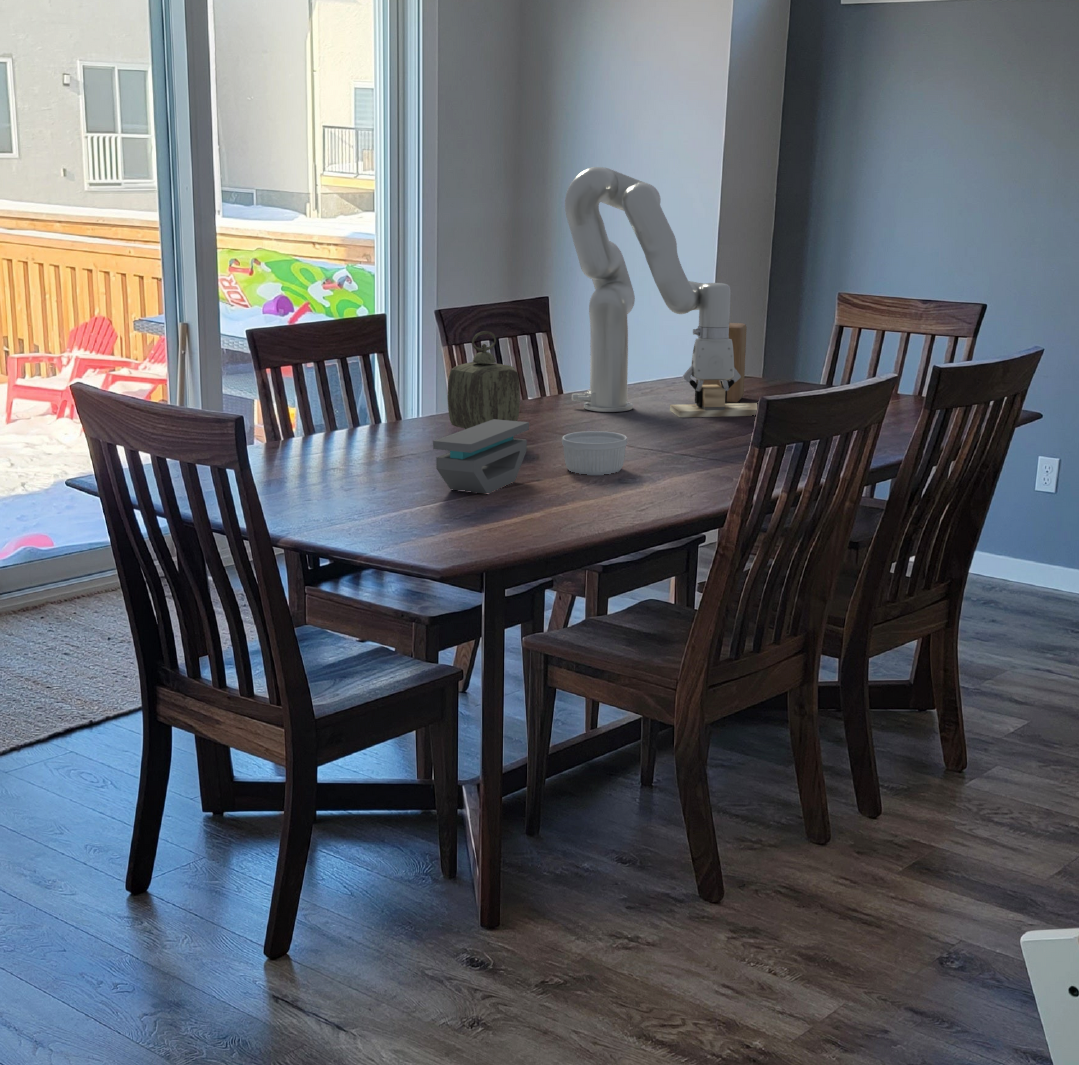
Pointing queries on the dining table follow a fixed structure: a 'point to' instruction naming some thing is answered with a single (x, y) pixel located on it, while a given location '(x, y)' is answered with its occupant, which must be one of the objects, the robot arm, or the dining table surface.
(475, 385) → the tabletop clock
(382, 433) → the dining table surface
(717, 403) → the block
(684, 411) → the birch plank
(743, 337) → the wooden block
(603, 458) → the ramekin
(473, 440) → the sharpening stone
